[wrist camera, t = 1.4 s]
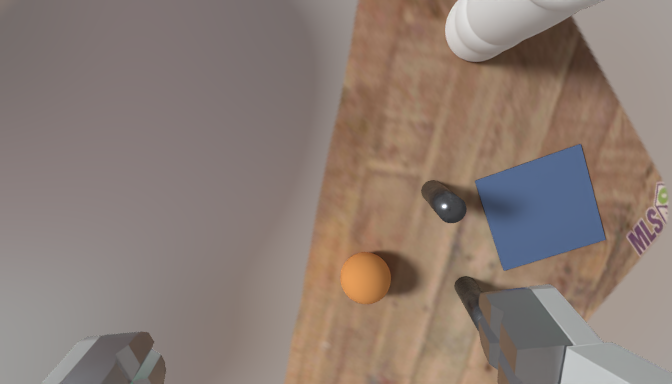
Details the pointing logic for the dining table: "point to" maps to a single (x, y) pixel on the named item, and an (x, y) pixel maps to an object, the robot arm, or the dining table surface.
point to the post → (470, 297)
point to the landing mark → (541, 208)
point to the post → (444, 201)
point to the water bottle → (502, 23)
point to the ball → (365, 278)
